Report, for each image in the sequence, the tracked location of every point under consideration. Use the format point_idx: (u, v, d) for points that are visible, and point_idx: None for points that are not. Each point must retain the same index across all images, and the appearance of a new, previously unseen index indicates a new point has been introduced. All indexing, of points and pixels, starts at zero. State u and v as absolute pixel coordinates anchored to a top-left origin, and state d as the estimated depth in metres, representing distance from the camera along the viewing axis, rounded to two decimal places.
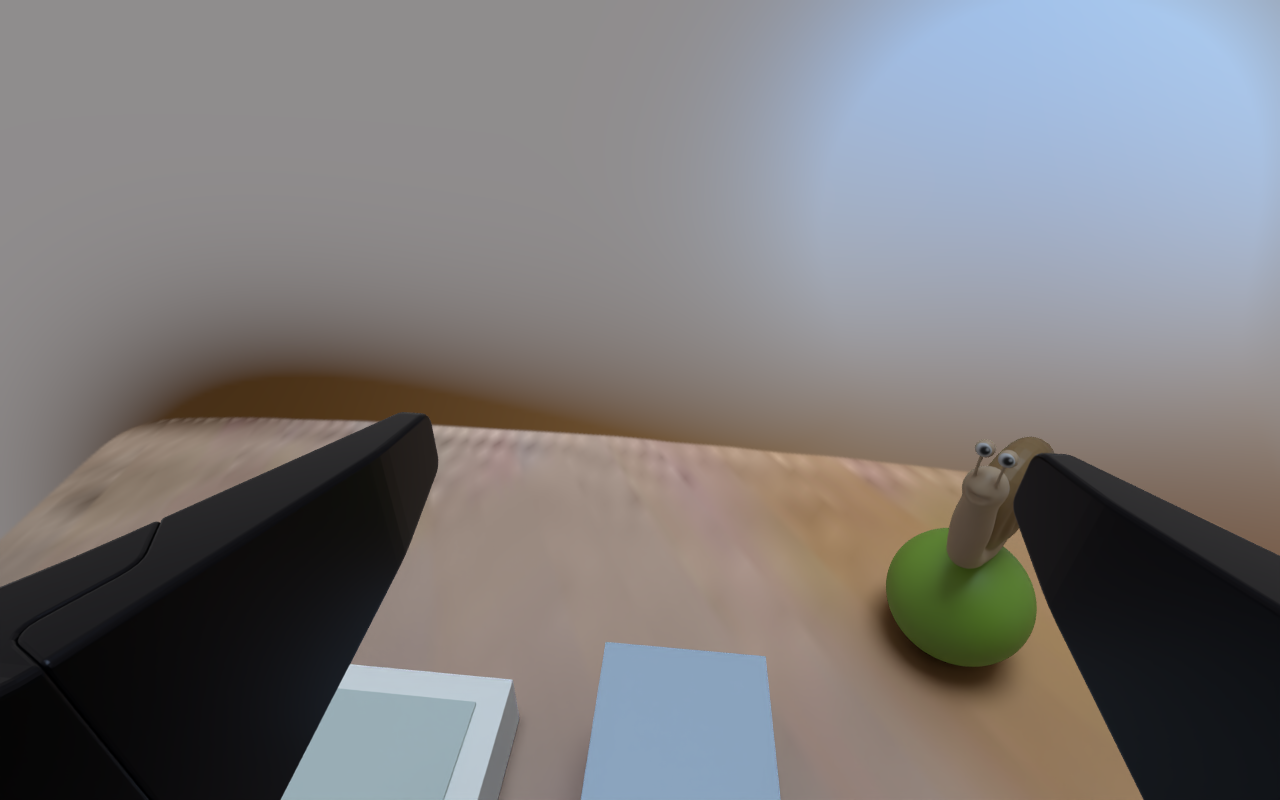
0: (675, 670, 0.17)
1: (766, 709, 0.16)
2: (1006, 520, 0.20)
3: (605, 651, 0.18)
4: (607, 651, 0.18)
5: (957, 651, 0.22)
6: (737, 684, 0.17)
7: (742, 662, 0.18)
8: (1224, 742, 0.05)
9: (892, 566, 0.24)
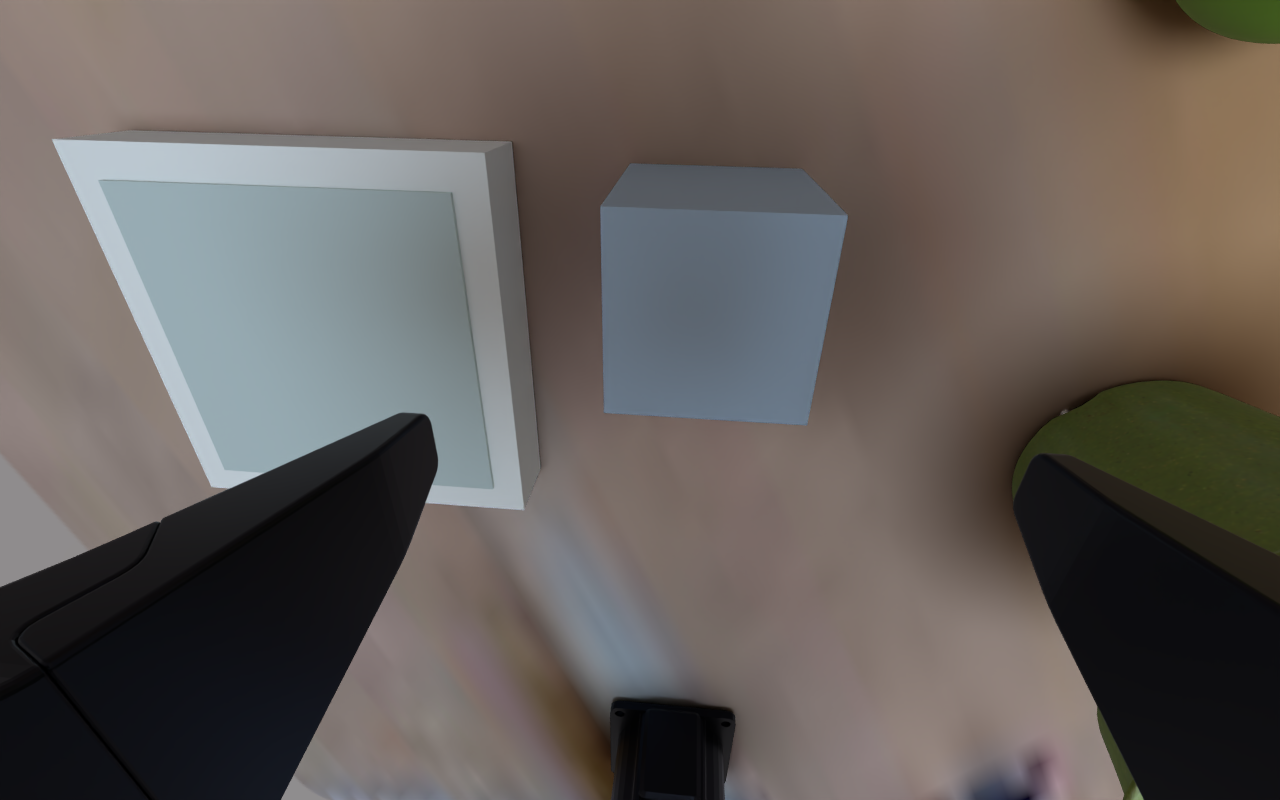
0: (705, 247, 0.12)
1: (826, 295, 0.12)
2: None
3: (602, 223, 0.12)
4: (605, 223, 0.12)
5: (1226, 34, 0.12)
6: (793, 263, 0.12)
7: (809, 229, 0.12)
8: (1224, 742, 0.05)
9: None
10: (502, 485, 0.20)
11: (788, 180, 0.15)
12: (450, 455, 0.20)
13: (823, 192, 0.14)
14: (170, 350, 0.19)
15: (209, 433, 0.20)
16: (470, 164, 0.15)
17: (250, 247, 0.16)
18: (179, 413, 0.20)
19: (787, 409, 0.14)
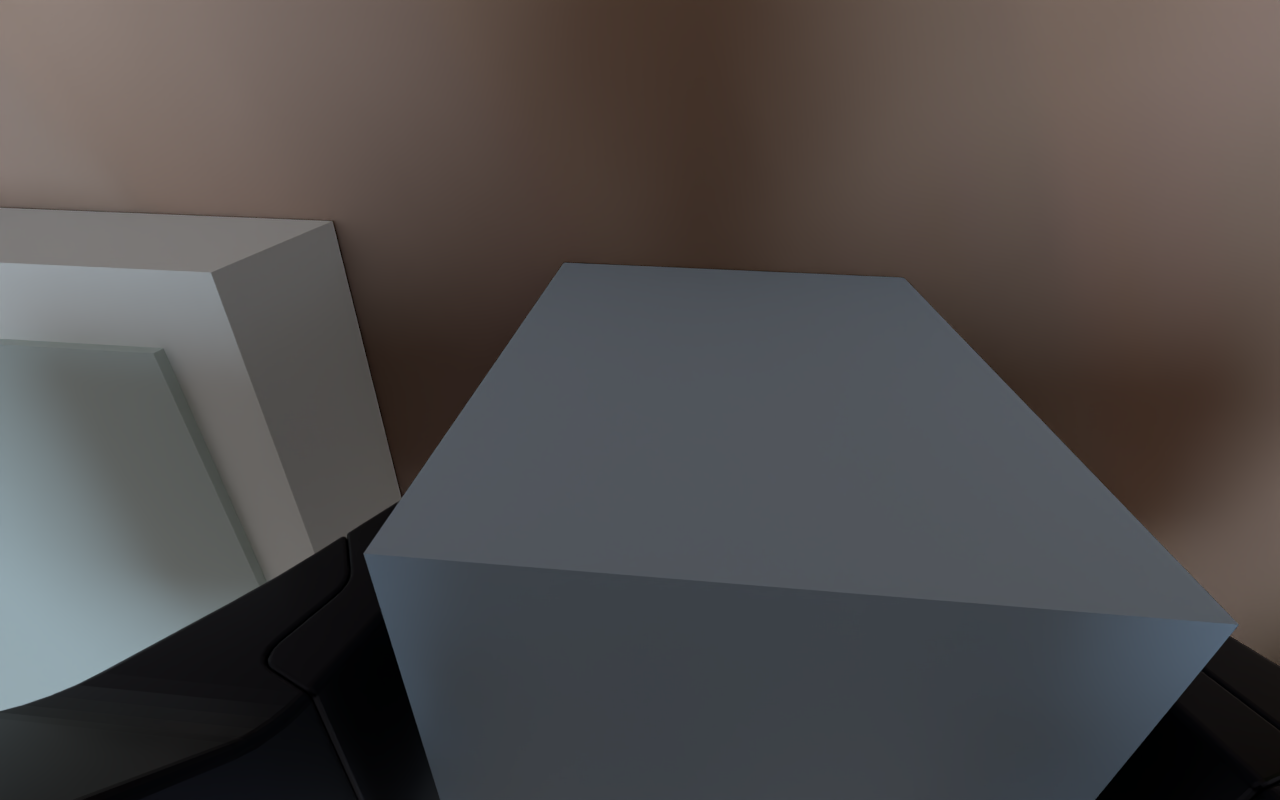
0: (718, 664, 0.04)
1: (1087, 782, 0.04)
2: None
3: (380, 593, 0.04)
4: (389, 593, 0.04)
5: None
6: (1003, 715, 0.04)
7: (1079, 647, 0.03)
8: None
9: None
10: None
11: (901, 334, 0.07)
12: None
13: (1020, 404, 0.05)
14: None
15: None
16: (186, 295, 0.07)
17: None
18: None
19: None
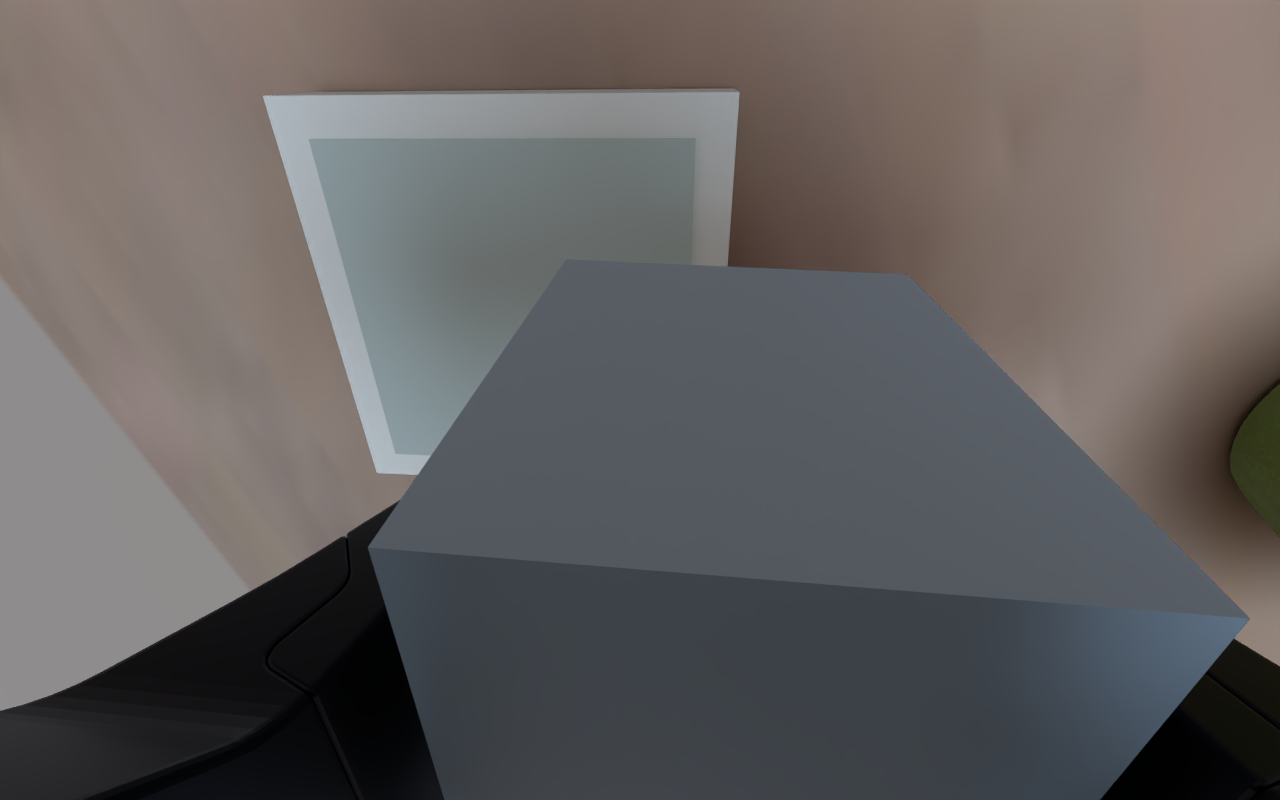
0: (725, 660, 0.04)
1: (1095, 778, 0.04)
2: None
3: (384, 588, 0.04)
4: (393, 588, 0.04)
5: None
6: (1011, 711, 0.04)
7: (1088, 642, 0.03)
8: None
9: None
10: None
11: (905, 331, 0.06)
12: None
13: (1026, 399, 0.05)
14: (356, 326, 0.18)
15: (384, 414, 0.19)
16: (721, 105, 0.14)
17: (464, 208, 0.15)
18: (354, 394, 0.19)
19: None
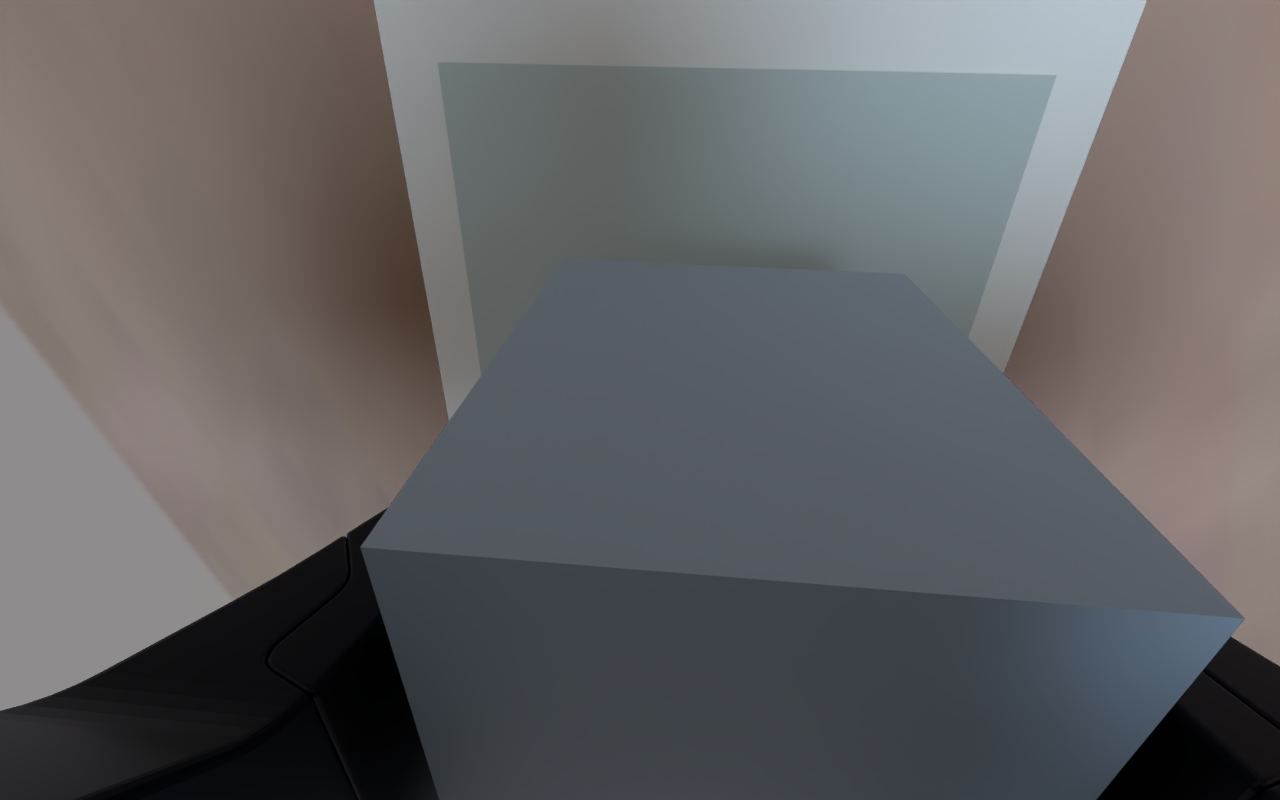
0: (719, 660, 0.04)
1: (1091, 778, 0.04)
2: None
3: (377, 587, 0.04)
4: (386, 587, 0.04)
5: None
6: (1006, 710, 0.04)
7: (1084, 644, 0.03)
8: None
9: None
10: None
11: (902, 330, 0.06)
12: None
13: (1022, 398, 0.05)
14: (468, 343, 0.12)
15: None
16: (1110, 22, 0.09)
17: (662, 176, 0.10)
18: None
19: None
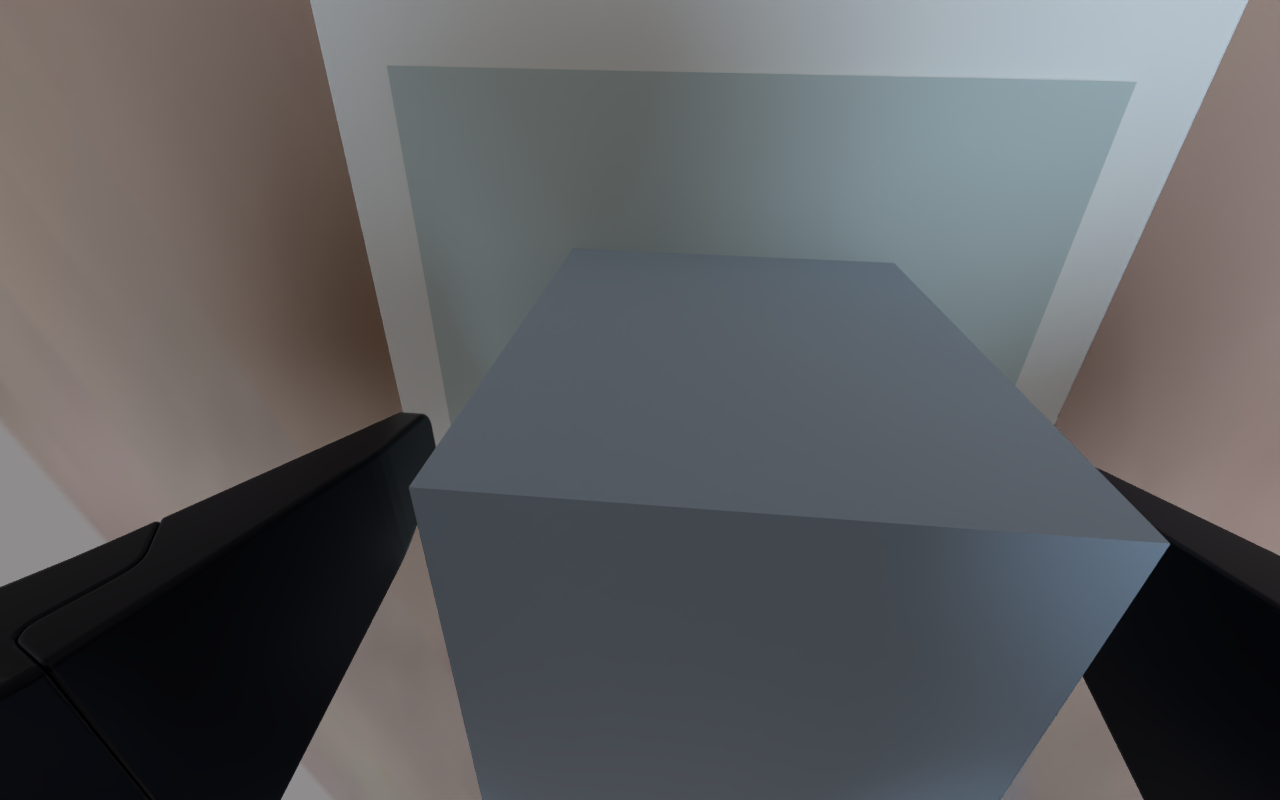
0: (718, 590, 0.04)
1: (1048, 698, 0.05)
2: None
3: (421, 525, 0.04)
4: (430, 525, 0.04)
5: None
6: (971, 634, 0.04)
7: (1035, 568, 0.04)
8: (1224, 742, 0.05)
9: None
10: None
11: (889, 312, 0.07)
12: None
13: (995, 371, 0.06)
14: (436, 387, 0.11)
15: None
16: (1205, 17, 0.07)
17: (657, 200, 0.09)
18: None
19: None
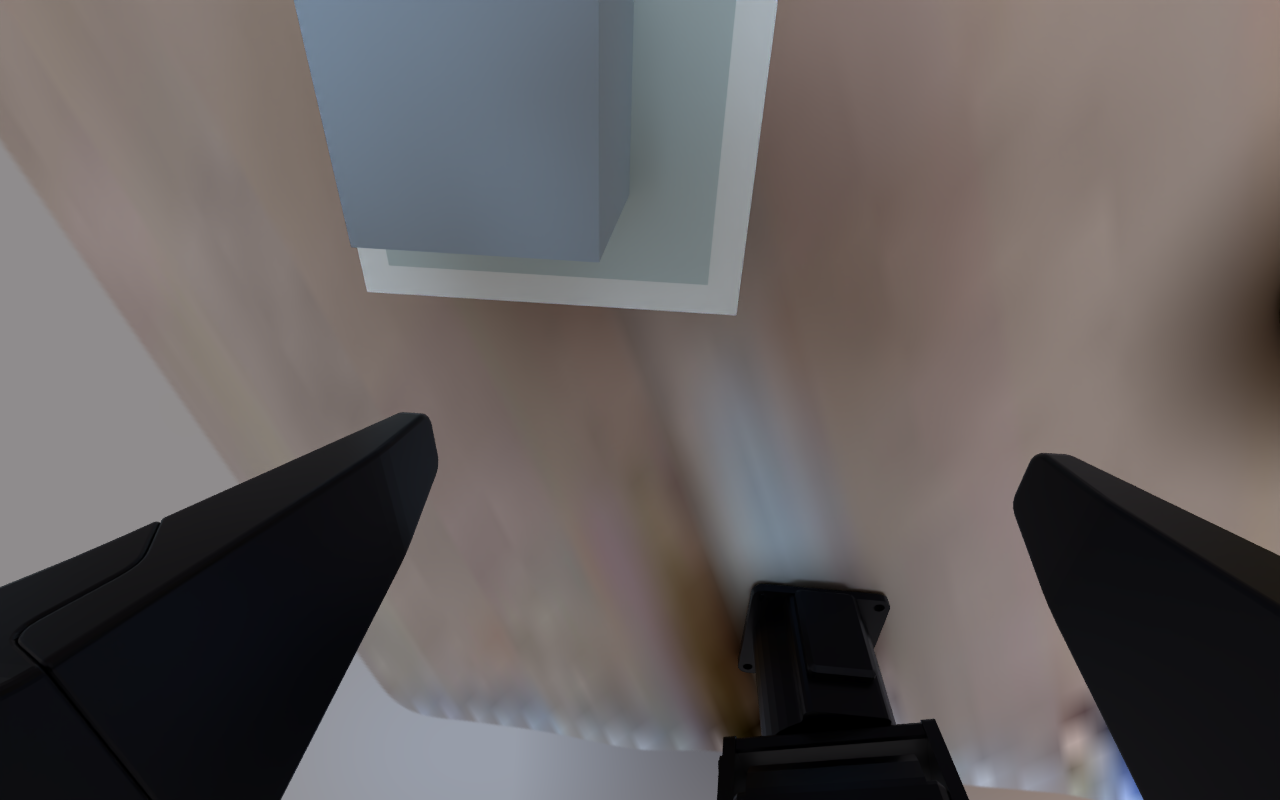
0: None
1: (591, 66, 0.09)
2: None
3: None
4: None
5: None
6: (541, 15, 0.09)
7: None
8: (1224, 742, 0.05)
9: None
10: (717, 281, 0.18)
11: None
12: (666, 237, 0.17)
13: None
14: None
15: None
16: None
17: None
18: None
19: (571, 239, 0.11)
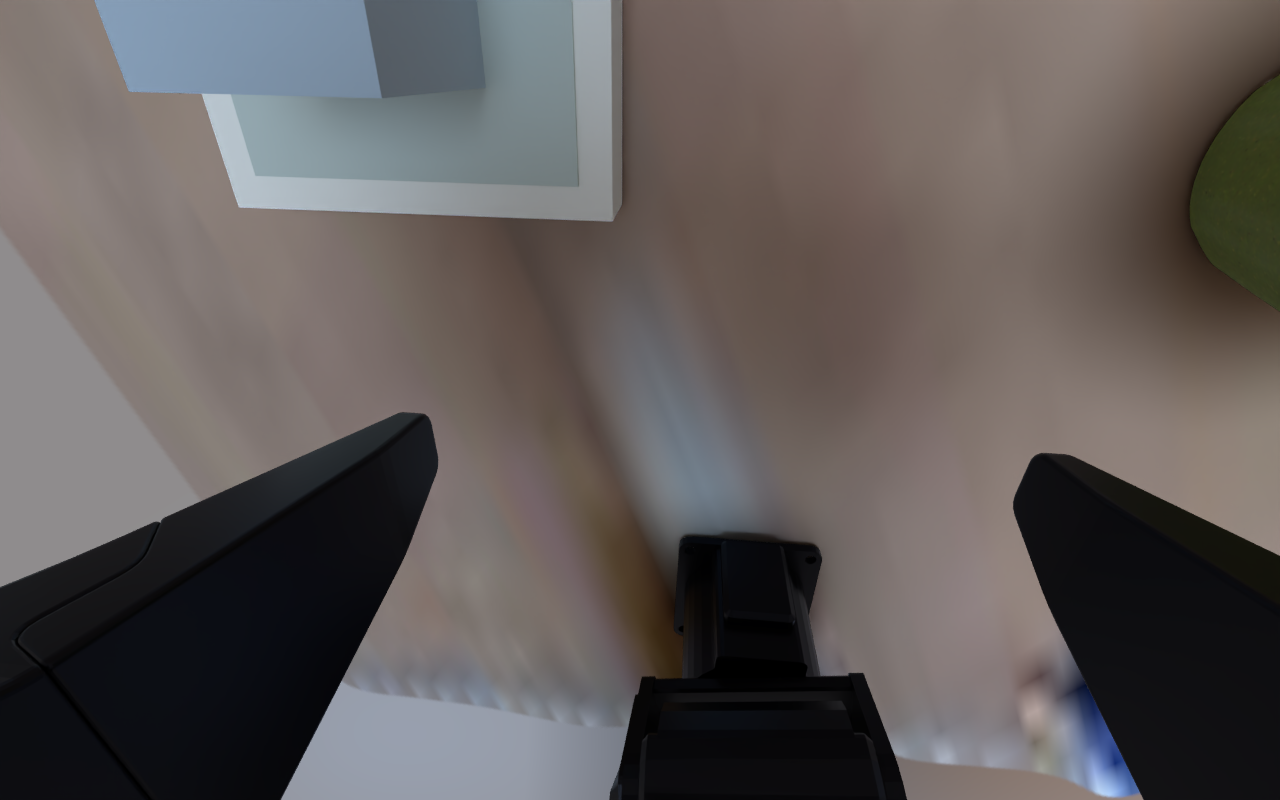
0: None
1: None
2: None
3: None
4: None
5: None
6: None
7: None
8: (1224, 742, 0.05)
9: None
10: (589, 183, 0.17)
11: None
12: (529, 134, 0.16)
13: None
14: None
15: (238, 118, 0.17)
16: None
17: None
18: None
19: (348, 71, 0.10)
